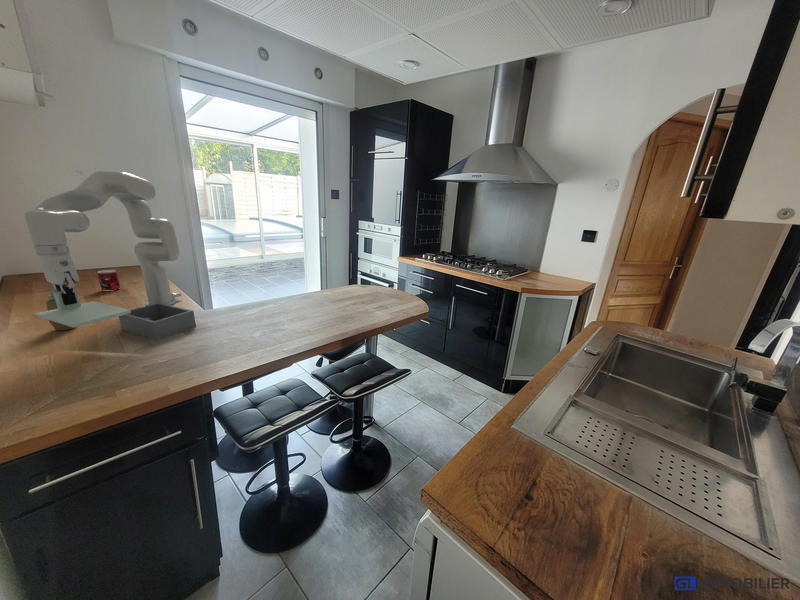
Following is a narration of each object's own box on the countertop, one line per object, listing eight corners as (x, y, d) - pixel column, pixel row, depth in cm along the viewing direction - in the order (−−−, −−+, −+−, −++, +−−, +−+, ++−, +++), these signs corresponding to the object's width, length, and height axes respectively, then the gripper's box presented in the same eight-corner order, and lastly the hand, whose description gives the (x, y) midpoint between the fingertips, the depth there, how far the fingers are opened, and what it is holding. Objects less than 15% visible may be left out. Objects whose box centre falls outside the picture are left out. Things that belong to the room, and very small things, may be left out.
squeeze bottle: (46, 332, 120) (31, 288, 115) (61, 325, 128) (48, 283, 122) (72, 331, 123) (58, 287, 117) (85, 323, 130) (73, 282, 125)
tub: (162, 319, 137) (158, 302, 135) (196, 328, 129) (193, 310, 127) (122, 331, 124) (117, 313, 121) (158, 342, 116) (153, 322, 113)
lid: (94, 305, 114) (89, 285, 112) (131, 314, 106) (126, 293, 104) (37, 317, 101) (29, 295, 99) (74, 329, 93) (67, 305, 91)
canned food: (98, 290, 174) (93, 271, 171) (114, 287, 182) (110, 269, 178) (108, 292, 172) (103, 273, 169) (123, 288, 180) (119, 270, 176)
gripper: (81, 250, 101) (95, 304, 106) (55, 246, 107) (70, 297, 112) (49, 253, 94) (66, 310, 100) (23, 249, 100) (41, 303, 105)
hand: (68, 303), depth 106 cm, fingers closed on lid
